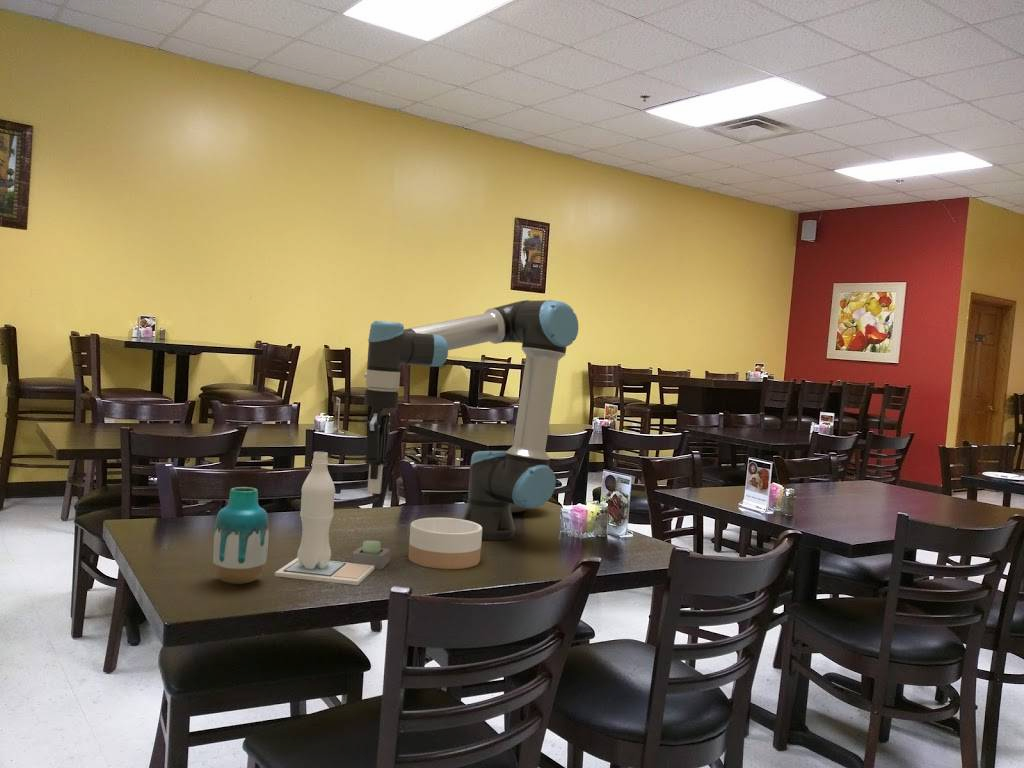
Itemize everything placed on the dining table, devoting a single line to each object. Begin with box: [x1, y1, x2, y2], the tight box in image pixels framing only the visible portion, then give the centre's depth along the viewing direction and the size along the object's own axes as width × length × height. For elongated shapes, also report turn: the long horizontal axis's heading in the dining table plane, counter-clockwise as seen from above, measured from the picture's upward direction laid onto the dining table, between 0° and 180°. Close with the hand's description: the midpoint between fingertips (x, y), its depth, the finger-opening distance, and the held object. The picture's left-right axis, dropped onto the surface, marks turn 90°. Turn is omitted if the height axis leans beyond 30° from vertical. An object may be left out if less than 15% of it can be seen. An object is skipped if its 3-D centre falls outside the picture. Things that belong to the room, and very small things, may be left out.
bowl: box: [408, 517, 482, 570], centre depth 200 cm, size 17×17×8 cm
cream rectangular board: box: [274, 557, 376, 586], centre depth 181 cm, size 18×13×1 cm
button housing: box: [350, 545, 391, 571], centre depth 190 cm, size 7×7×3 cm
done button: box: [362, 539, 382, 555], centre depth 190 cm, size 4×4×4 cm
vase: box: [212, 486, 270, 585], centre depth 170 cm, size 11×11×19 cm
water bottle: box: [296, 451, 336, 569], centre depth 181 cm, size 7×7×25 cm
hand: (374, 492), depth 190 cm, fingers closed
